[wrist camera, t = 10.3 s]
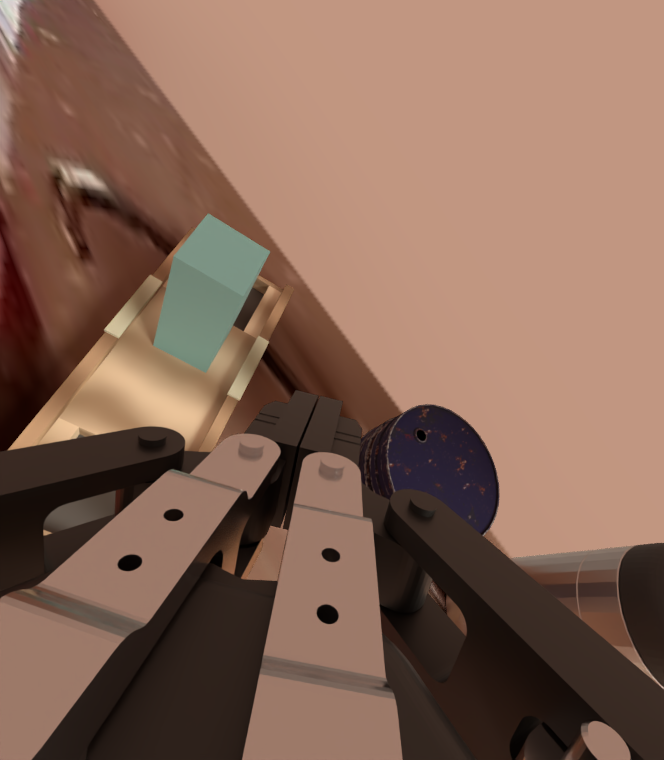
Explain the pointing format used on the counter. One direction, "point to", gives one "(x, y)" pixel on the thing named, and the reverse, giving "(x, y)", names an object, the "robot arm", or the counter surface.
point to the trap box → (153, 383)
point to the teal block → (207, 291)
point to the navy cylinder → (433, 462)
